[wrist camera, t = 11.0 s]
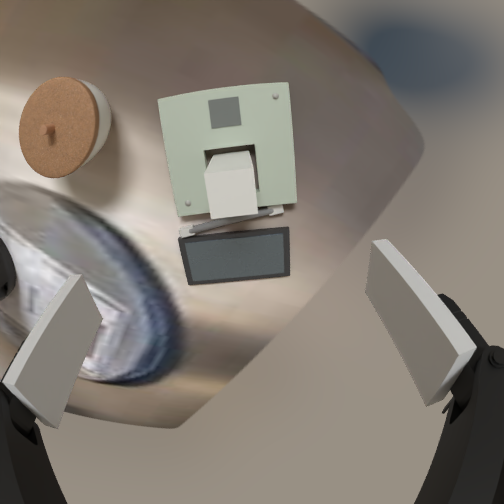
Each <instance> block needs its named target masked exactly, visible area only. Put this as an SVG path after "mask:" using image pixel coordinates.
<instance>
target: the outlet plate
mask: <svg viewBox="0 0 504 504" xmlns="http://www.w3.org/2000/svg"><path fill="white" fill-rule="evenodd" d="M158 106H159V113H160V119H161V126H162V132H163V139H164V145H165V151H166V156H167V162H168V168H169V173H170V178H171V184H172V189H173V194H174V199H175V204H176V208H177V213H178V217H180V216H187V215H194V214H202V213H209V212H210V209H209V203H208V197H207V191H206V185H205V178H204V173H205V171H206V169H207V167H208V166H207V159H206V152H205V150H210V149H218V148H225V147H233V146H242V145H251V144H254V146H255V156H256V166H257V176H258V186H259V189H256V198H257V207H260V206H269V205H279V204H289V203H297V195H296V175H295V159H294V144H293V130H292V118H291V106H290V95H289V85H288V82H283V83H265V84H252V85H241V86H232V87H224V88H217V89H210V90H203V91H197V92H191V93H186V94H181V95H176V96H171V97H166V98H162V99H158Z"/></svg>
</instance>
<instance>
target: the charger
mask: <svg viewBox="0 0 504 504" xmlns="http://www.w3.org/2000/svg"><path fill="white" fill-rule="evenodd" d="M204 178H205V185H206V191H207V197H208V203H209V209H210V215H211V219H217V218H226V217H234V216H243V215H251V214H258V208H257V198H256V188H255V178H254V169H253V164H252V161H251V157H250V154H249V150H247V151H238V152H229V153H222V154H214V155H213V157H212V159H211V161H210V163H209V165H208V167H207V169H206V171H205V173H204Z"/></svg>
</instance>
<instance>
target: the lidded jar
mask: <svg viewBox="0 0 504 504" xmlns="http://www.w3.org/2000/svg"><path fill="white" fill-rule="evenodd" d="M110 127H111V109H110V105H109V103H108V100H107V98H106V97H105V95H104V94H103V92H102V91H101V90H100V89H99V88H97V87H96V86H94V85H93V84H91V83H89V82H86V81H84V80H79V79H75V78H70V77H57V78H53V79H51V80H48V81H46V82H45V83H43V84H42V85H40V86H39V87H38V88H37V89H36V90H35V91H34V92H33V94H32V95H31V96H30V98H29V99H28V101H27V103H26V105H25V107H24V109H23V112H22V115H21V119H20V125H19V140H20V146H21V150H22V153H23V155H24V157H25V159H26V161H27V163H28V164H29V165H30V167H31V168H32V169H33V170H34V171H36V172H37V173H39V174H40V175H42V176H45V177H48V178H60V177H64V176H66V175H68V174H71V173H72V172H74V171H75V170H77V169H78V168H80V167H81V166H83V165H84V164H86V163H87V162H89V161H90V160H91V159H92V158H93V157H94V156H95V155H96V154H97V153H98V152H99V151H100V149H101V148H102V147H103V145H104V143H105V141H106V139H107V137H108V134H109V131H110Z"/></svg>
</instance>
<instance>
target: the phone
mask: <svg viewBox="0 0 504 504" xmlns="http://www.w3.org/2000/svg"><path fill="white" fill-rule="evenodd" d="M178 242H179V247H180V251H181V256H182V260H183V264H184V268H185V273H186V277H187V281H188V285H193V284H205V283H217V282H228V281H239V280H250V279H260V278H270V277H280V276H290V242H289V227H278V228H267V229H256V230H245V231H235V232H225V233H215V234H205V235H196V236H188V237H184V238H182V237H179V238H178Z"/></svg>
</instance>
